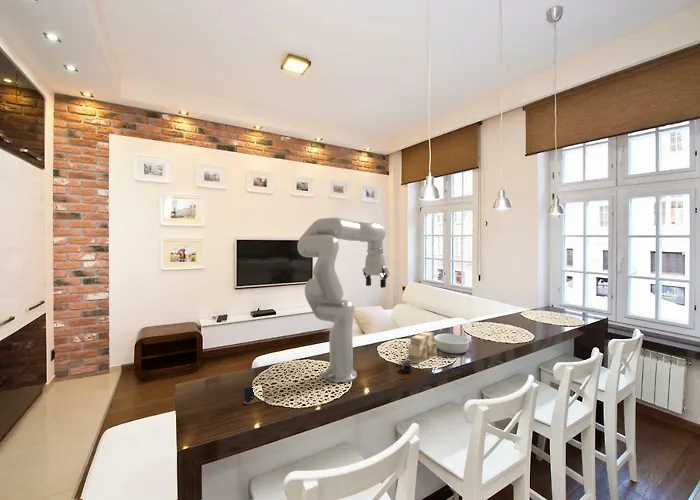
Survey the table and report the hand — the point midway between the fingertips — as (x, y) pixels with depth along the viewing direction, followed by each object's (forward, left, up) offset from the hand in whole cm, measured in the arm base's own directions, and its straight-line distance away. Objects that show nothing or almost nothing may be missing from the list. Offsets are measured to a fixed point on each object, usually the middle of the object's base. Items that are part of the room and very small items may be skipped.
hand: (375, 286), depth 151 cm
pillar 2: (+13, -21, -32) cm, 41 cm away
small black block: (-9, -25, -34) cm, 43 cm away
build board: (+9, -21, -33) cm, 40 cm away
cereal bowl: (+28, -25, -34) cm, 50 cm away
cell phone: (-63, +3, -34) cm, 72 cm away
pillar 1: (+5, -21, -32) cm, 39 cm away
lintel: (+9, -21, -26) cm, 35 cm away
